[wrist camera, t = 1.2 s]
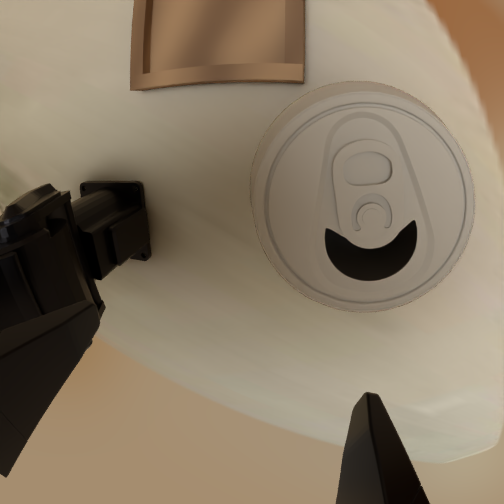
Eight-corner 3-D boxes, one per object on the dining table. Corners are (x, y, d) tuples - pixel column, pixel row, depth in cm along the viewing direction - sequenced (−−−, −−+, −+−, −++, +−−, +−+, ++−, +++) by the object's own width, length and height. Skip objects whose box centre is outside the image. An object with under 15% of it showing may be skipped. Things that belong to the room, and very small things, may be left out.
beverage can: (299, 205, 19) (264, 332, 9) (281, 107, 16) (209, 100, 6) (396, 196, 17) (473, 313, 7) (384, 95, 15) (480, 75, 4)
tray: (142, 90, 18) (130, 90, 16) (150, -36, 13) (139, -42, 11) (304, 83, 15) (302, 80, 14) (303, -58, 10) (300, -68, 9)
